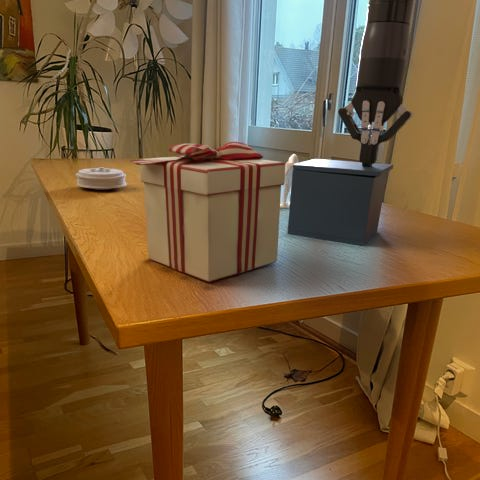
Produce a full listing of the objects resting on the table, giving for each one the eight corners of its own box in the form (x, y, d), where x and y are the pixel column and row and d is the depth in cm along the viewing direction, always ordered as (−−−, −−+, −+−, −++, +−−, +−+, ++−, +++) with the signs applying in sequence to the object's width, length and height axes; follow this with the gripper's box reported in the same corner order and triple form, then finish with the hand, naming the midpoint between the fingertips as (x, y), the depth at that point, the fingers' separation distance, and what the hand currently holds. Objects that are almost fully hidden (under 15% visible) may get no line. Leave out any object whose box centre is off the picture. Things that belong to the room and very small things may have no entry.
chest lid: (392, 168, 90) (393, 164, 90) (379, 176, 80) (380, 171, 79) (314, 162, 96) (314, 158, 96) (292, 169, 86) (293, 164, 85)
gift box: (199, 238, 85) (199, 135, 78) (283, 262, 74) (293, 145, 67) (120, 258, 73) (113, 138, 66) (208, 290, 62) (210, 151, 55)
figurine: (289, 203, 118) (293, 152, 113) (303, 206, 115) (308, 154, 110) (272, 207, 113) (276, 153, 107) (287, 210, 110) (292, 155, 105)
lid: (66, 188, 122) (64, 168, 120) (97, 182, 133) (96, 163, 131) (107, 194, 118) (105, 173, 116) (136, 187, 129) (135, 168, 127)
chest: (377, 231, 95) (387, 170, 90) (363, 246, 85) (373, 178, 80) (308, 221, 101) (314, 163, 96) (287, 233, 91) (292, 169, 86)
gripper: (427, 59, 79) (407, 167, 86) (349, 58, 84) (336, 160, 92) (422, 55, 73) (401, 172, 80) (338, 54, 78) (325, 164, 85)
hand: (366, 165), depth 86 cm, fingers closed
